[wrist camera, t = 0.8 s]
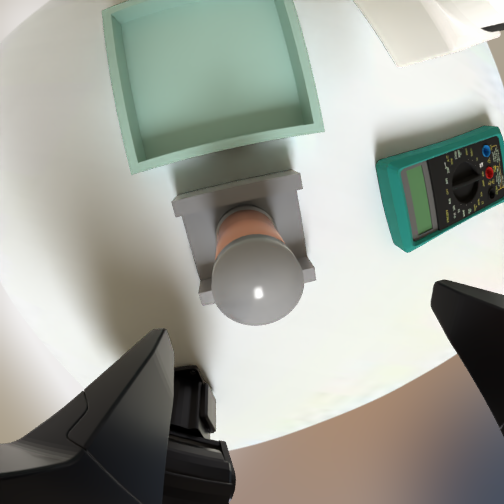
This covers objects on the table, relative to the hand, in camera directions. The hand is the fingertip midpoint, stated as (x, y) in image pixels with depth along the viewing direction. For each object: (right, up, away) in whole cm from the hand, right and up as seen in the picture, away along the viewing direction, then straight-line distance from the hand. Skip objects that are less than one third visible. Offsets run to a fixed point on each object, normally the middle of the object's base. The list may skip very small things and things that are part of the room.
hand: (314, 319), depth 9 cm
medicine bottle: (+10, +21, +7) cm, 24 cm away
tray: (-5, +14, +8) cm, 17 cm away
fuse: (-2, +3, +12) cm, 13 cm away
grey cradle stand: (-2, +3, +12) cm, 13 cm away
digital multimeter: (+15, +8, +13) cm, 21 cm away
